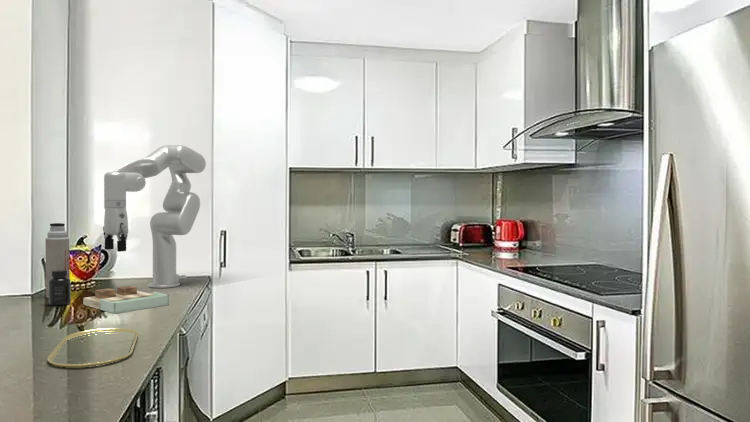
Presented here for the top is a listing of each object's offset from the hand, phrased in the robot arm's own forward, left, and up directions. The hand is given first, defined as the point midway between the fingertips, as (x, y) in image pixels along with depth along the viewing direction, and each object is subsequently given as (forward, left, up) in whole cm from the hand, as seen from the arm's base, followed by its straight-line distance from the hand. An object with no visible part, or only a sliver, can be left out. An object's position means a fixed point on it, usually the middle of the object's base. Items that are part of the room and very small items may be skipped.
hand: (115, 250), depth 213 cm
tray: (+4, +21, -18) cm, 28 cm away
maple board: (+4, +10, -18) cm, 21 cm away
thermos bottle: (+13, -19, -18) cm, 29 cm away
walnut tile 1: (0, +8, -16) cm, 18 cm away
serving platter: (+37, +62, -19) cm, 75 cm away
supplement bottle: (+19, -3, -18) cm, 26 cm away
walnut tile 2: (+8, +8, -16) cm, 19 cm away
